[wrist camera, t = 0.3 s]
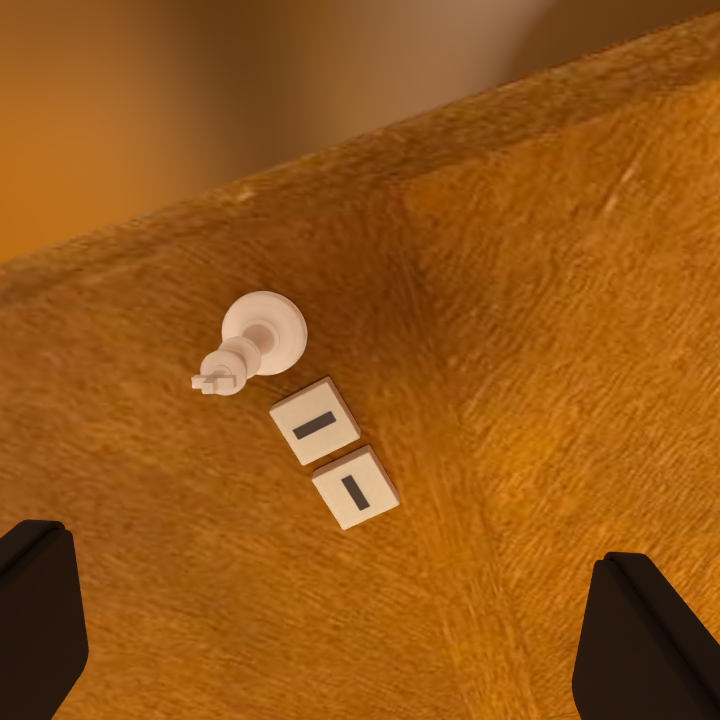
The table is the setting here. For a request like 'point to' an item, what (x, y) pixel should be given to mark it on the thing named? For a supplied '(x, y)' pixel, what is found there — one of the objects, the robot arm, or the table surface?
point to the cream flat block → (326, 434)
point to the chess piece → (253, 343)
